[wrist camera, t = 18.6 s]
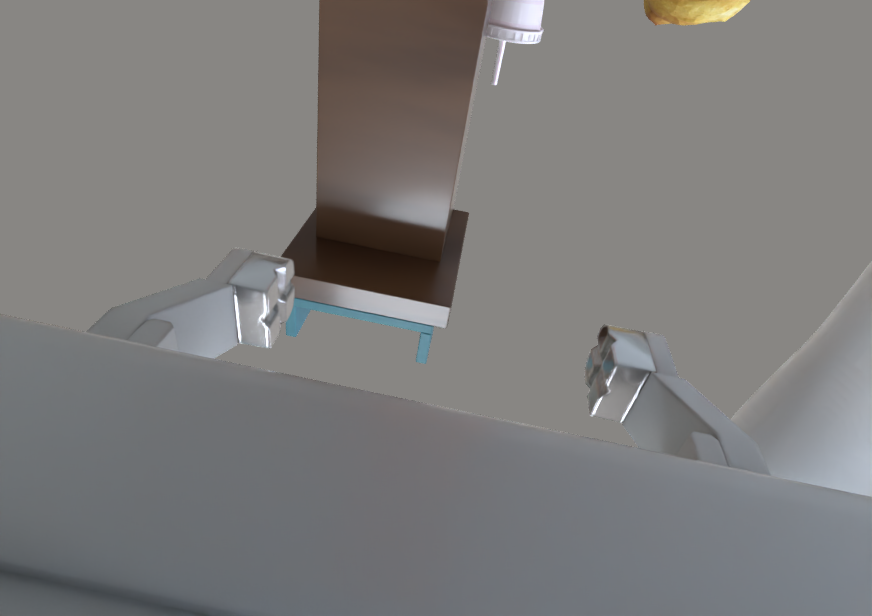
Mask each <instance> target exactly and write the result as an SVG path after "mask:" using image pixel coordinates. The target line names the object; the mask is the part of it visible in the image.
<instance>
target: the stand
mask: <svg viewBox="0 0 872 616" xmlns="http://www.w3.org/2000/svg"><path fill="white" fill-rule="evenodd" d="M319 2H320V3H319V70H318V72H319V73H318V137H317V199H316V200H317V202H316V203H317V204H316V208H315V210H314V211H313V213H312V214H311V215H310V217H309V218H308V220H307V221H306V222H305V224H304V225H303V226H302V228H301V229H300V231H299V232H298V234H297V235H296V236H295V238H294V239H293V240H292V242H291V243H290V245H289V246H288V247H287V249H286V250H285V251H284V253H283V254H282V256H281V257H283V258H287V259H292V260H293V262H294V267H295V274H294V276H293V277H292V279H291V283H292V284H293V286H294V287H295V298H299V299H304V300H309V301H314V302H319V303H324V304H328V305H333V306H338V307H343V308H348V309H353V310H358V311H363V312H368V313H372V314H377V315H382V316H387V317H392V318H397V319H402V320H407V321H411V322H416V323H421V324H426V325H431V326H436V327H441V328H447V325H448V321H449V316H450V311H451V306H452V301H453V296H454V290H455V285H456V280H457V274H458V269H459V264H460V258H461V253H462V247H463V243H464V237H465V232H466V226H467V221H468V216H469V213H468V212H463V211H458V210H453V208H454V204H455V198H456V193H457V188H458V182H459V177H460V172H461V167H462V161H463V156H464V150H465V146H466V140H467V135H468V129H469V124H470V119H471V113H472V109H473V103H474V98H475V93H476V87H477V82H478V77H479V72H480V66H481V61H482V55H483V51H484V45H485V40H486V35H487V29H488V24H489V19H490V14H491V8H492V3H493V0H320V1H319Z"/></svg>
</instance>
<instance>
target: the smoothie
mask: <svg viewBox="0 0 872 616" xmlns="http://www.w3.org/2000/svg"><path fill="white" fill-rule="evenodd" d="M543 6H544V0H493V3H492V8H491V14H490V19H489V24H488V29H487V35H486V37H490V38H493V39H497V40H500V42H499V46H498V51H497V56H496V61H495V66H494V70H493V75H492V80H491V84H493V85H496V84H497V80H498V75H499V71H500V66H501V62H502V57H503V52H504V47H505V43H506V41H507V42H513V43H522V44H534V43H538V42H540V40H541V35H542V32H543V31H544V30H543V28H542V27H541V20H542V13H543Z"/></svg>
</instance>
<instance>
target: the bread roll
mask: <svg viewBox="0 0 872 616" xmlns="http://www.w3.org/2000/svg"><path fill="white" fill-rule="evenodd" d="M749 1H750V0H644V9H645V13H646V16H647V17H648V18H649V20H651V21H652V22H653V23H654V24H655V25H657V24H658V25H660V24H670V23H672V24H678V25H694V24H701V23H707V22H717V21H723V22H725V21H727V20H728V19H729V18H731V17H732V16H734V15H735V14H736V13H737V12H739V11H740V10H741V9H742V8H743V7H744V6H745V5H746V4H747V3H749Z"/></svg>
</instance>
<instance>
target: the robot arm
mask: <svg viewBox="0 0 872 616" xmlns="http://www.w3.org/2000/svg"><path fill="white" fill-rule="evenodd" d="M294 274H295V267H294V262H293V260H292V259H287V258H283V257H279V256H274V255H269V254H265V253H261V252H257V251H256V252H254V251H252V250H247V249H242V248H233V249H232V250H231V251H230V252H229V254H228V255H227V256H226V257H225V258H224V259H223V260H222V261H221V263H220V264H219V265H218V266H217V267H216V268H215V269H214V270H213V271H212V273H211V274H210V275H209V276H208V277H207V278H206V279H200V278H199V279H196V280H194V281H190V282H187V283H185V284H182V285H178V286H175V287H173V288H170V289H167V290H164V291H161V292H158V293H155V294H152V295H149V296H146V297H143V298H140V299H137V300H134V301H131V302H128V303H125V304H122V305H119V306H116V307H113V308H111V309H110V310H108V312H106V313H105V314H104V315H103V316H102V317H101V318H100V319H99V320H98V321H97V322H96V323H95V324H94V325H92V326H91V327H90V328H89V329H88V330H87V331H86V332H84V331H79V330H74V329H70V328H65V327H60V326H55V325H50V324H45V323H41V322H36V321H31V320H27V319H22V318H17V317H12V316H7V315H3V314H0V616H872V261H871V262H870V264H869V265H868V266H867V268H866V269H865V270H864V271H863V273H862V274H861V275H860V277H859V278H858V279H857V280H856V282H855V283H854V284H853V286H852V287H851V288H850V290H849V291H848V292H847V293H846V295H845V296H844V297H843V299H842V300H841V301H840V303H839V304H838V305H837V306H836V308H835V309H834V310H833V311H832V313H831V314H830V315H829V316H828V318H827V319H826V320H825V321H824V323H823V324H822V325H821V326H820V327H819V328H818V330H817V331H816V332H815V333H814V334H813V335H812V336H811V337H810V338H809V339H808V340H807V342H806V343H804V344H803V345H802V346H801V347H800V348H799V349H798V350H797V351H796V352H795V353H794V354H793V355H792V356H791V357H790V358H789V359H788V360H787V361H786V362H785V363H784V364H783V365H782V366H781V367H780V368H779V369H778V370H777V371H776V372H775V373H774V374H773V375H772V376H771V377H770V378H769V379H768V380H767V381H766V382H765V383H764V384H763V385H762V386H761V387H760V388H759V389H758V390H757V391H756V392H755V393H754V394H753V395H752V396H751V397H750V398H749V399H748V400H747V401H746V402H745V403H744V404H743V406H742V407H741V408H740V409H739V410H738V411H737V412H736V413H735V414H734V415H733V416H732V418H731V419H729V418H728V417H727V416H726V415H725V414H723V413H722V412H721V411H720V410H719V409H718V408H717V407H716V406H714V405H713V404H712V403H711V402H710V401H709V400H708V399H707V398H705V397H704V396H703V395H702V394H701V393H700V392H699V391H698V390H697V389H695V388H694V387H693V386H692V385H691V384H690V383H689V382H688V381H686V380H685V379H682V378H679V377H678V374H677V371H676V368H675V365H674V362H673V359H672V356H671V353H670V350H669V348H668V345H667V342H666V339H665V337H664V336H663V335H660V334H655V333H649V332H644V331H643V332H641V331H636V330H630V329H625V328H620V327H615V326H609V325H603V326H602V327H601V329H600V331H599V333H598V335H597V339H598V345H597V346H596V347H594V348H592V349H591V351H590V353H589V356H588V358H587V362H586V367H585V383H586V385H587V386H588V387H589V388H590V391H589V393H588V396H587V399H588V405H589V414H590V415H591V416H594V417H599V418H603V419H607V420H612V421H616V422H620V423H623V424H622V425H623V426H624V428H625V429H626V430H627V432H628V433H629V434H630V436H631V437H632V439H633V440H634V442H635V443H636V444H637V446H638V447H639V448H636V447H632V446H627V445H622V444H617V443H613V442H608V441H603V440H599V439H594V438H589V437H584V436H579V435H574V434H570V433H565V432H560V431H555V430H551V429H546V428H541V427H536V426H532V425H527V424H522V423H517V422H513V421H508V420H503V419H498V418H494V417H489V416H484V415H479V414H474V413H469V412H464V411H460V410H455V409H450V408H446V407H440V406H436V405H432V404H427V403H422V402H417V401H413V400H408V399H403V398H398V397H394V396H389V395H384V394H379V393H374V392H370V391H365V390H360V389H355V388H351V387H346V386H341V385H336V384H331V383H327V382H322V381H317V380H313V379H308V378H303V377H298V376H294V375H289V374H284V373H279V372H274V371H270V370H265V369H260V368H255V367H251V366H246V365H241V364H236V363H232V362H226V361H222V360H217V359H214V358H216V357H217V356H219V355H220V354H222V353H224V352H226V351H227V350H229V349H231V348H232V347H234V346H236V345H238V343H243V344H248V345H253V346H259V347H264V348H271V347H272V345H273V343H274V342H275V340H276V338H277V337H278V335H279V334H280V324H282V323H284V322H286V321H287V320H288V318H289V316H290V314H291V312H292V308H293V305H294V299H295V287H294V286H293V284H292V283H291V279H292V277H293V276H294Z"/></svg>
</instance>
